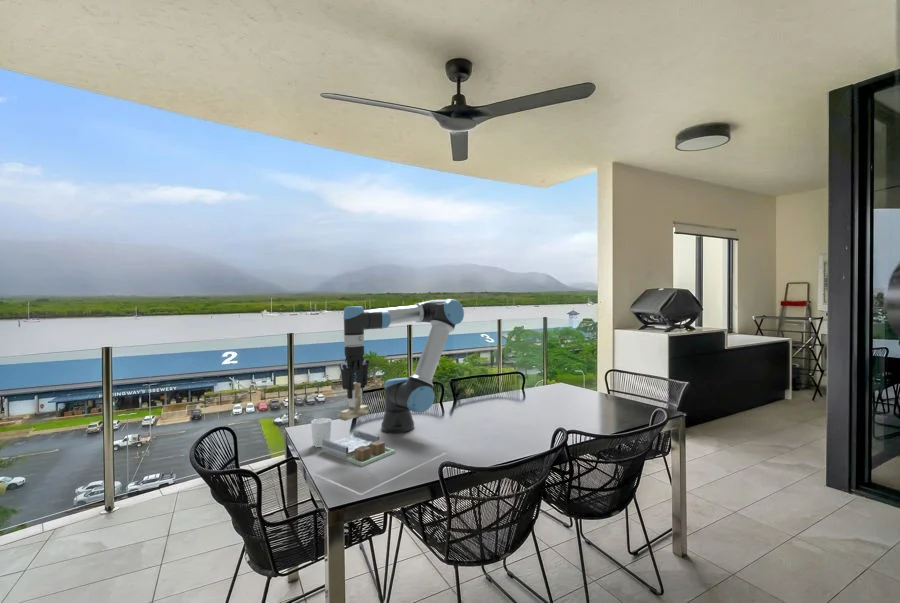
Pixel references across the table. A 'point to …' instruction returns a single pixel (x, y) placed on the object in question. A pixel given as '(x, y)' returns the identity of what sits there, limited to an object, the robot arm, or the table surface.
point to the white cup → (320, 431)
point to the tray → (373, 457)
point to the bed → (348, 444)
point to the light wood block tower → (358, 408)
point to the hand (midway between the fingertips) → (355, 405)
